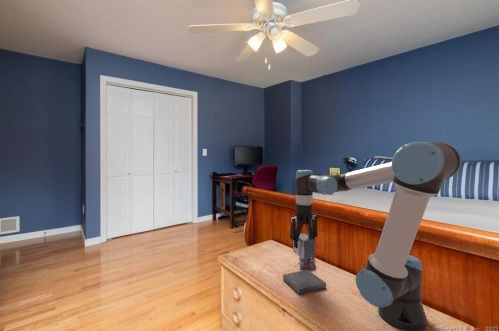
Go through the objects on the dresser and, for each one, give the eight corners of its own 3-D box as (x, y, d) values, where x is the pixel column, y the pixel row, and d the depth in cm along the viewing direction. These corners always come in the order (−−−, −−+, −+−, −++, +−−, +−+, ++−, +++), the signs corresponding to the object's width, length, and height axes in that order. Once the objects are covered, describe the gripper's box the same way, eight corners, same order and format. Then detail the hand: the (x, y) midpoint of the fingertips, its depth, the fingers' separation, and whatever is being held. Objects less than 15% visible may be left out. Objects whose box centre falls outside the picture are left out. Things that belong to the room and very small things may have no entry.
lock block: (315, 257, 109) (315, 239, 109) (303, 259, 107) (304, 241, 107) (304, 249, 117) (304, 233, 117) (293, 251, 115) (293, 234, 115)
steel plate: (326, 288, 109) (326, 283, 109) (299, 295, 104) (299, 289, 104) (307, 274, 122) (307, 269, 122) (283, 279, 117) (283, 274, 117)
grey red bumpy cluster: (319, 268, 124) (305, 249, 126) (302, 277, 127) (289, 259, 128) (320, 259, 134) (307, 242, 136) (305, 268, 137) (292, 251, 139)
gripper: (316, 200, 118) (315, 247, 119) (281, 203, 111) (281, 253, 112) (326, 203, 111) (325, 253, 112) (290, 206, 104) (290, 259, 105)
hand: (303, 253), depth 112 cm, fingers closed on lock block, 6 cm apart
